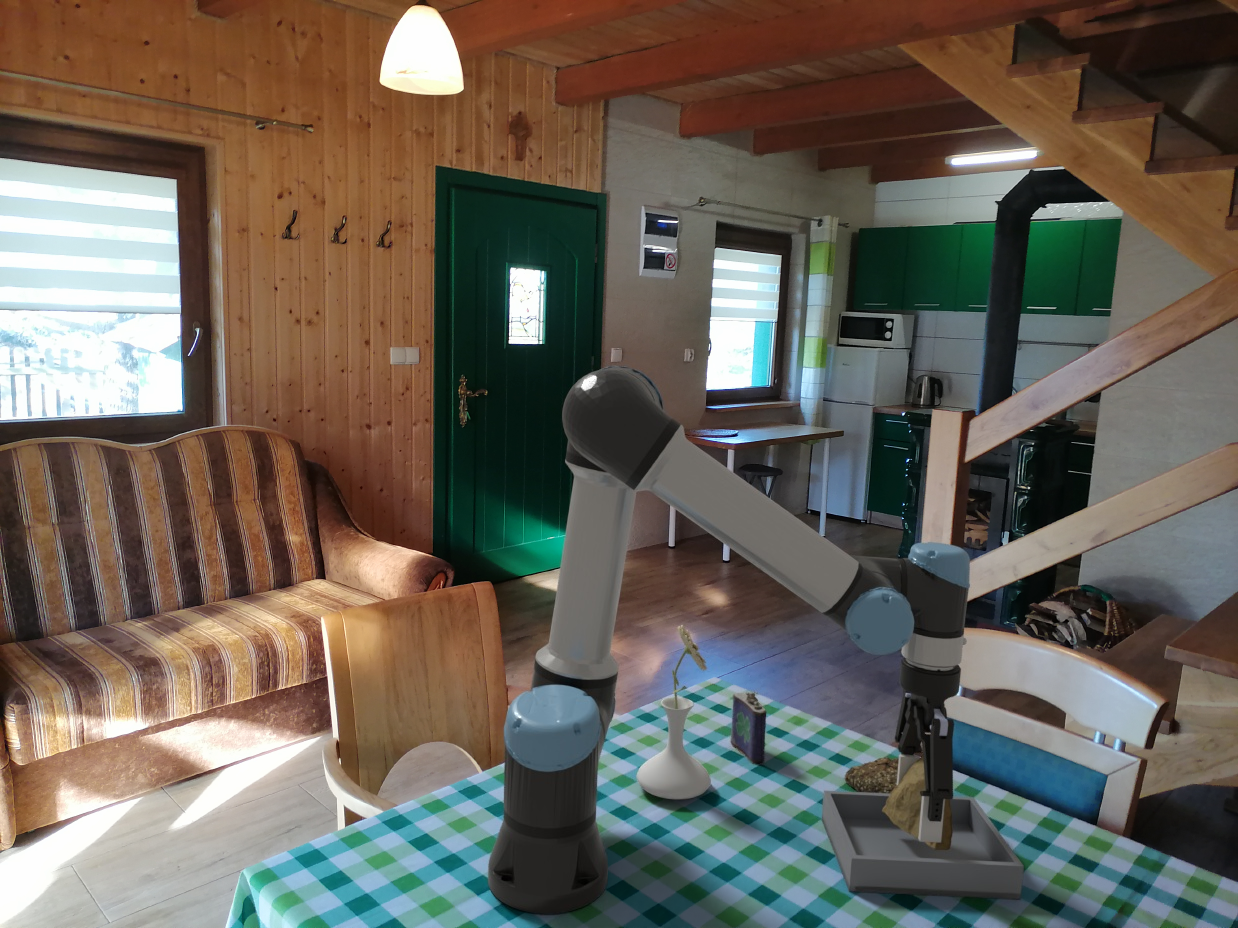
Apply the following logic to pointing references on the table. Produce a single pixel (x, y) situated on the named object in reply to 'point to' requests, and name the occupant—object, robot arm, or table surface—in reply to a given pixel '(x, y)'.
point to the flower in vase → (676, 746)
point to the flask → (748, 726)
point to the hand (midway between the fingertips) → (917, 818)
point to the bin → (919, 851)
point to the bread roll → (874, 776)
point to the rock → (915, 806)
